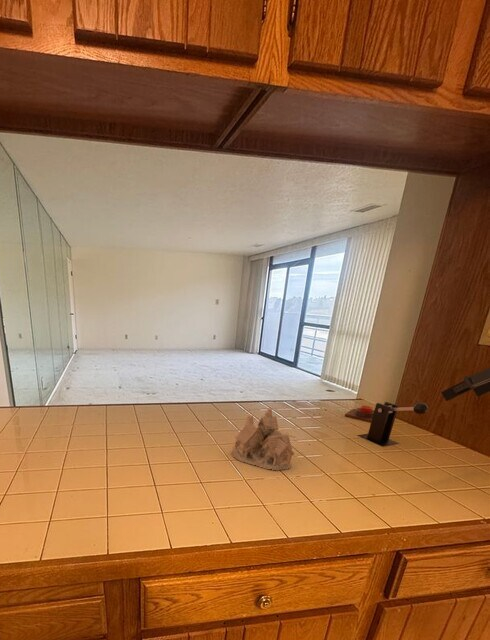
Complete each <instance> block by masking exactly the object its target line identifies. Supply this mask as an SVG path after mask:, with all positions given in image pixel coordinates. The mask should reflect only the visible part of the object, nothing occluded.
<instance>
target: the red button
mask: <svg viewBox="0 0 490 640" xmlns="http://www.w3.org/2000/svg"><path fill="white" fill-rule="evenodd" d="M360 408H361V409H360V411H363V412H369V413H370V412H372V410H373V407H371V406H369V405H361V406H360Z"/></svg>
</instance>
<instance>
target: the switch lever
mask: <svg viewBox="0 0 490 640" xmlns="http://www.w3.org/2000/svg"><path fill="white" fill-rule="evenodd" d="M389 407H390V410H389V413H393V411H397V412H406V411H407V412H408V411H411V412H412V411H413V412H414V413H415V414H417V415H424V414H426V413H427V412H428V411H429V406H428V404H427V403H425V402H417V403H415V404H414V405H413V406H407V407H405V406H404V407H400V406H399V407H398V408H392V406H389Z"/></svg>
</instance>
